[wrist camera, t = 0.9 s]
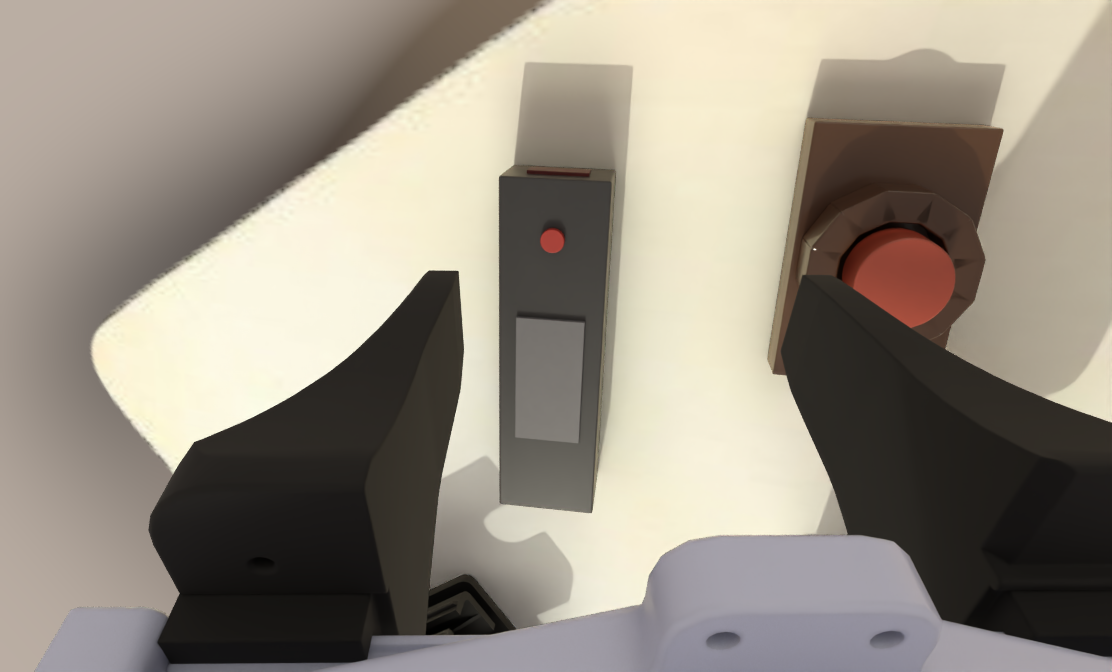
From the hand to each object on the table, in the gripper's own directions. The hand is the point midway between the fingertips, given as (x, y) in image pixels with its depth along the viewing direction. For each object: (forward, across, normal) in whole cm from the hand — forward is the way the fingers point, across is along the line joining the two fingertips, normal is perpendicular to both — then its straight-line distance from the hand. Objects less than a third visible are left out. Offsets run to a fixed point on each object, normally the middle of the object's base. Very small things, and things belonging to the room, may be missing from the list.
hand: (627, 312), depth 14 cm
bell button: (+11, -12, +6) cm, 17 cm away
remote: (+15, +1, +12) cm, 19 cm away
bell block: (+14, -13, +6) cm, 20 cm away
